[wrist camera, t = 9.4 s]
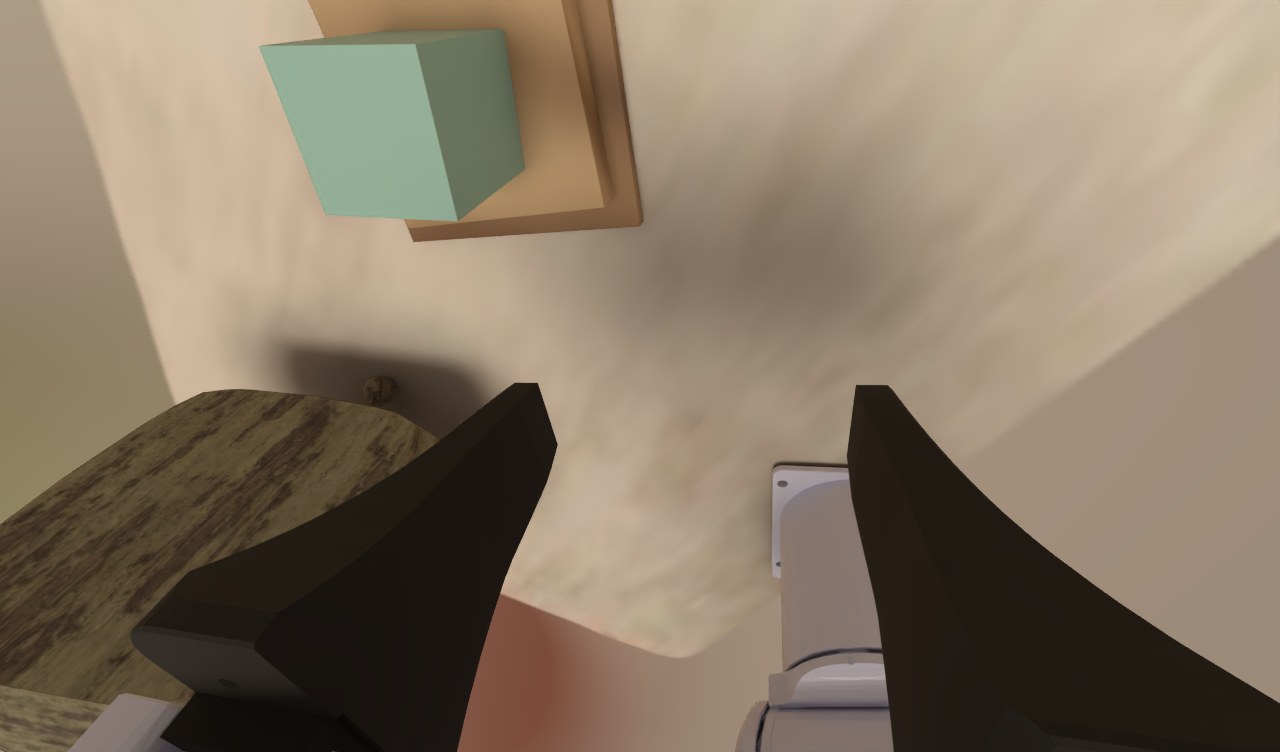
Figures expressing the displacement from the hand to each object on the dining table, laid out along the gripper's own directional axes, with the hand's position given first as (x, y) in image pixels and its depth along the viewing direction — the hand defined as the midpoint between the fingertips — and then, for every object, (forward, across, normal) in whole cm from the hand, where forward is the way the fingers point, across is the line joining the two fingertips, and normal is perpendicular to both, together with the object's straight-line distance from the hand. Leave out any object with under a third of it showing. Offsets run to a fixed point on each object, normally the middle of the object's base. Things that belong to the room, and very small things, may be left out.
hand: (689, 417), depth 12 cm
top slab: (+10, +8, -6) cm, 14 cm away
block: (+8, +8, -6) cm, 13 cm away
